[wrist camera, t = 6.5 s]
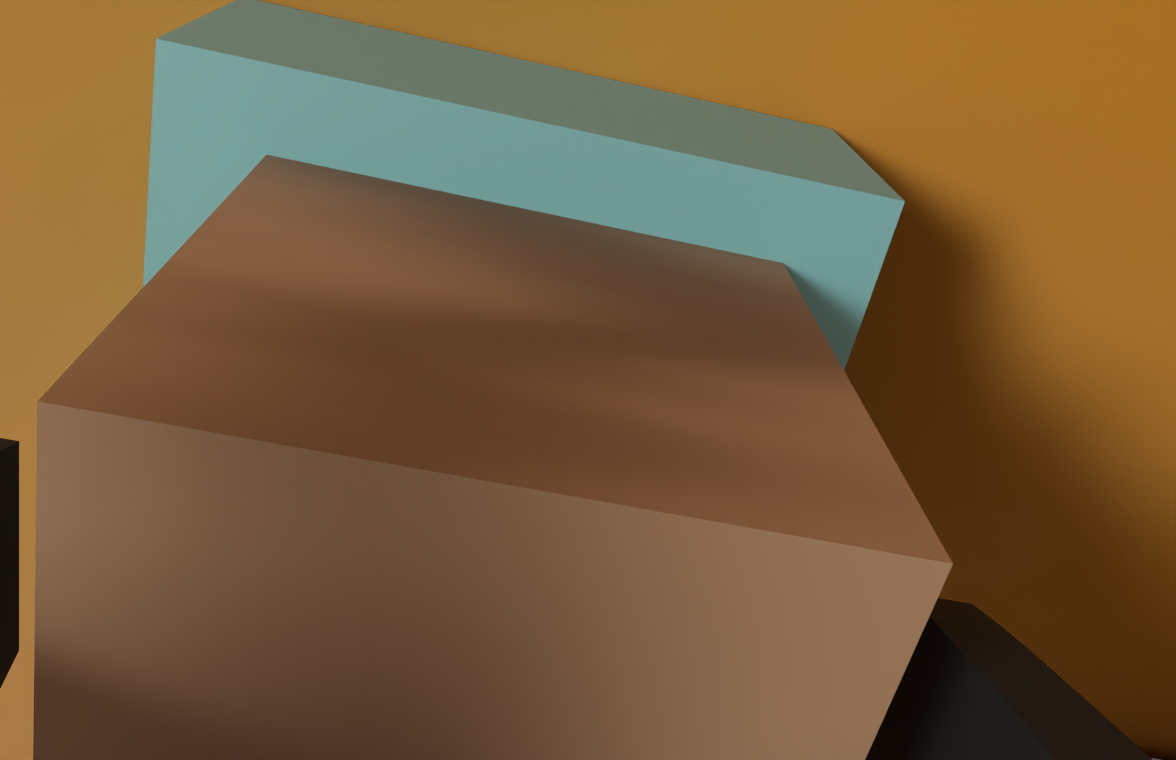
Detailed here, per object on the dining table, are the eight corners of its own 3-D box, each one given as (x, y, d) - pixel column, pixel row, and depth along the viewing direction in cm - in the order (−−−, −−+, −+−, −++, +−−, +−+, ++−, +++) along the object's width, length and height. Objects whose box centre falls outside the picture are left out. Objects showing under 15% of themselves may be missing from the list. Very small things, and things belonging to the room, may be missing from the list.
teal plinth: (832, 129, 13) (904, 201, 10) (683, 592, 16) (710, 742, 13) (243, -4, 12) (156, 38, 10) (199, 512, 15) (123, 655, 13)
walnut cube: (783, 262, 11) (953, 563, 6) (655, 657, 13) (713, 1096, 8) (265, 154, 10) (36, 401, 6) (222, 588, 12) (29, 1021, 8)
